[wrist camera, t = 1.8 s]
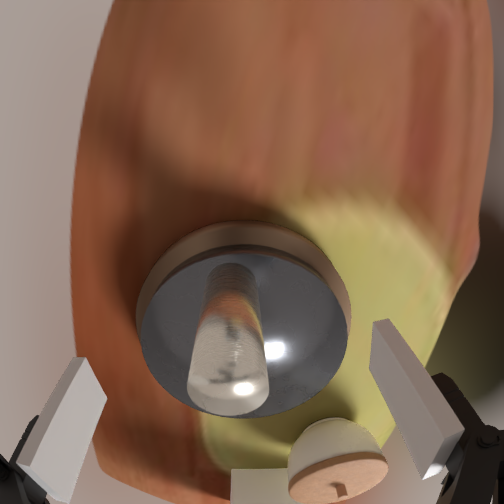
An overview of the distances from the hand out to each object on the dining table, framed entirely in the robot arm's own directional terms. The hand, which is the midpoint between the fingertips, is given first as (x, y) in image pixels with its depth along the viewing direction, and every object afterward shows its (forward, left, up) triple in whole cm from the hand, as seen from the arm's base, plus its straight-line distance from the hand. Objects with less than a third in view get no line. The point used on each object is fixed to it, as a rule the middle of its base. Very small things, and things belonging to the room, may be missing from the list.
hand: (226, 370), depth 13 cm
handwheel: (0, +5, -10) cm, 11 cm away
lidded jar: (-7, +23, -12) cm, 27 cm away
